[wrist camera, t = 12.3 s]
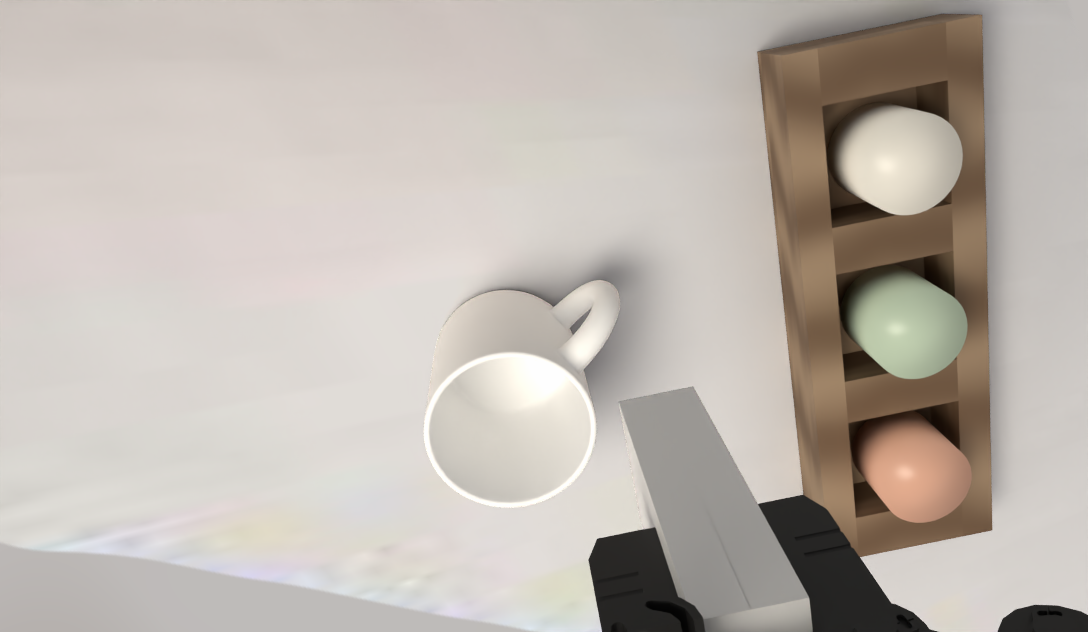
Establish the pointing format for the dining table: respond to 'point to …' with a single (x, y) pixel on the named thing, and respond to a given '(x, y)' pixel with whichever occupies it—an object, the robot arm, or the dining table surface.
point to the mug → (516, 393)
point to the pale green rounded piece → (903, 321)
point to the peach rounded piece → (911, 466)
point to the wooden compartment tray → (878, 261)
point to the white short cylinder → (895, 157)
